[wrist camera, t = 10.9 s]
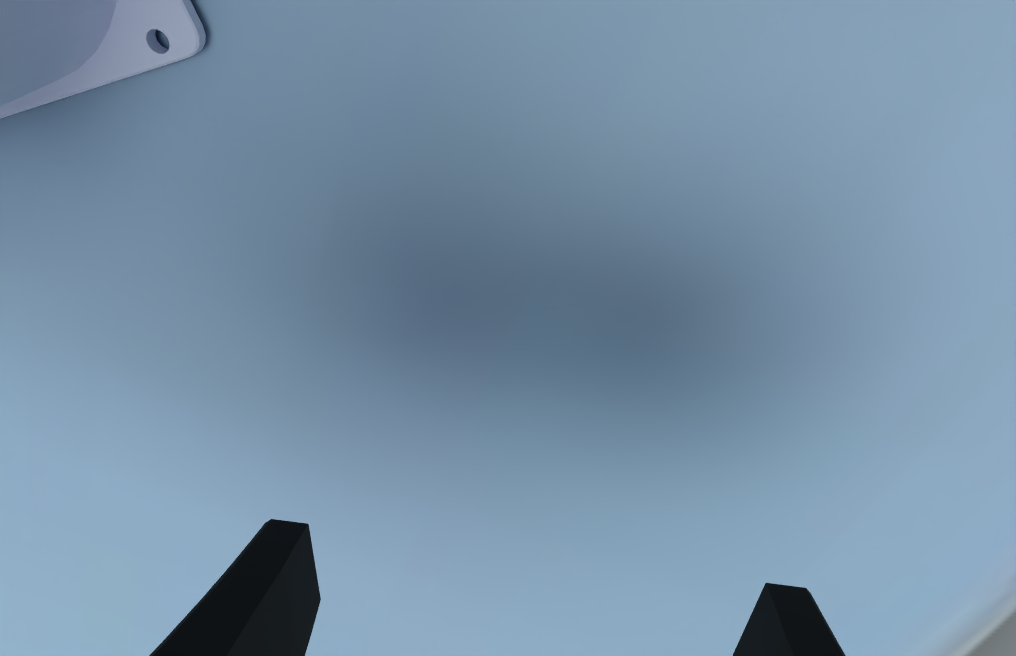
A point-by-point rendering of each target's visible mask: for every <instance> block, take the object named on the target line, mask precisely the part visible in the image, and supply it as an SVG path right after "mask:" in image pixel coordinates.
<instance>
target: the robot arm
mask: <svg viewBox="0 0 1016 656" xmlns="http://www.w3.org/2000/svg"><path fill="white" fill-rule="evenodd" d="M156 29H158V30H159V31H161V32H163V33H164V34H165V35H166V37H167V38H168V41H169V44H170V46H169V49H166V48H164V47H162V46H161V45H160V44H159V43H158V41H157V39H156V36H155V32H156ZM205 39H206V34H205V31H204V28H203V25H202V23H201V21H200V19H199V17H198V15H197V13H196V11H195V9H194V7H193V5H192V3H191V1H190V0H0V119H1V118H4V117H7V116H10V115H13V114H16V113H19V112H22V111H25V110H29V109H32V108H35V107H38V106H41V105H44V104H47V103H50V102H53V101H56V100H59V99H63V98H66V97H69V96H72V95H75V94H78V93H81V92H84V91H87V90H90V89H93V88H96V87H100V86H103V85H106V84H109V83H112V82H115V81H118V80H121V79H124V78H127V77H130V76H133V75H137V74H140V73H143V72H146V71H149V70H152V69H155V68H158V67H161V66H164V65H167V64H170V63H174V62H177V61H180V60H183V59H186V58H189V57H191V56H193V55H195V54H196V53H198V52H199V51H201V50H202V49H203V47H204V45H205ZM320 600H321V599H320V593H319V586H318V580H317V574H316V568H315V562H314V556H313V549H312V543H311V537H310V531H309V525H308V524H305V523H298V522H290V521H282V520H274V519H271V520H269V521H268V522H266V523H265V524H264V525H263V526H262V528H261V529H260V530H259V531H258V533H257V534H256V535H255V536H254V538H253V539H252V540H251V541H250V543H249V544H248V545H247V546H246V547H245V549H244V550H243V551H242V552H241V554H240V555H239V556H238V557H237V558H236V560H235V561H234V562H233V563H232V564H231V565H230V567H229V568H228V569H227V570H226V571H225V573H224V574H223V575H222V576H221V577H220V578H219V580H218V581H217V582H216V583H215V584H214V585H213V586H212V588H211V589H210V590H209V591H208V592H207V593H206V595H205V596H204V597H203V598H202V599H201V600H200V601H199V602H198V604H197V605H196V606H195V607H194V608H193V609H192V610H191V611H190V612H189V613H188V614H187V616H186V617H185V618H184V619H183V620H182V621H181V622H180V623H179V624H178V625H177V627H176V628H175V629H174V630H173V631H172V632H171V633H170V634H169V635H168V636H167V638H166V639H165V640H164V641H163V642H162V643H161V644H160V645H159V646H158V647H157V648H156V649H155V650H154V651H153V652H152V653H151V654H150V655H149V656H305V653H306V650H307V646H308V643H309V640H310V636H311V633H312V629H313V625H314V622H315V618H316V615H317V611H318V607H319V604H320ZM733 656H845V654H844V652H843V651H842V649H841V647H840V645H839V644H838V642H837V640H836V638H835V636H834V635H833V633H832V631H831V629H830V628H829V626H828V624H827V622H826V620H825V619H824V617H823V615H822V613H821V611H820V609H819V608H818V606H817V604H816V602H815V600H814V599H813V597H812V595H811V593H810V592H809V591H808V590H807V589H806V588H802V587H794V586H786V585H778V584H771V583H766V584H765V586H764V588H763V590H762V592H761V594H760V597H759V599H758V601H757V603H756V605H755V608H754V610H753V612H752V614H751V616H750V619H749V621H748V623H747V625H746V627H745V630H744V632H743V634H742V636H741V638H740V640H739V643H738V645H737V647H736V649H735V651H734V654H733Z"/></svg>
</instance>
